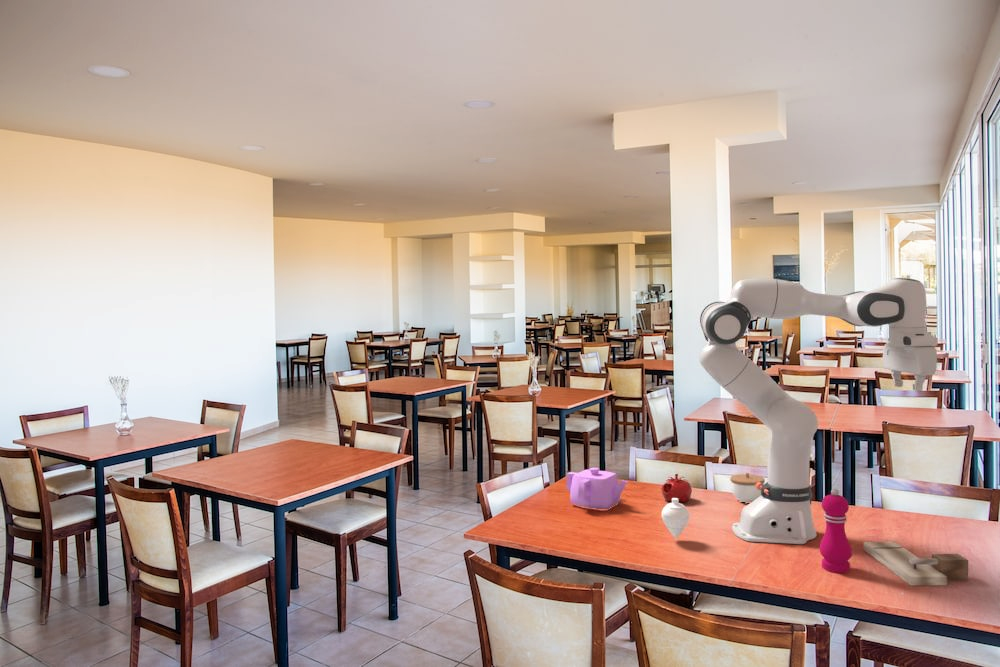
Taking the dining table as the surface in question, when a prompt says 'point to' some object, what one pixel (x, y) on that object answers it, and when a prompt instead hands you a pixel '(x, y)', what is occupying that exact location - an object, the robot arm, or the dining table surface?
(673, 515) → the spinning top
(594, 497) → the teakettle
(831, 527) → the pepper mill
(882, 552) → the plank
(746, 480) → the lidded jar
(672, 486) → the pomegranate
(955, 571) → the gauge
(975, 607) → the dining table surface
